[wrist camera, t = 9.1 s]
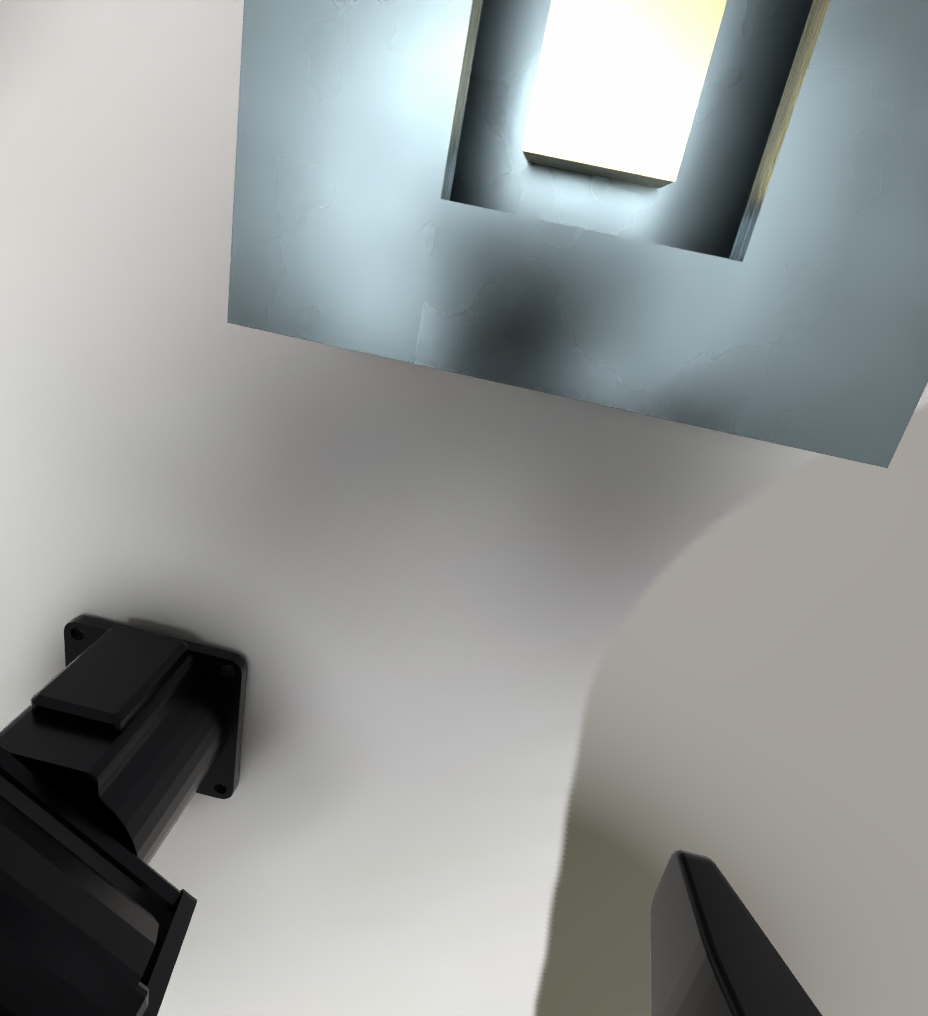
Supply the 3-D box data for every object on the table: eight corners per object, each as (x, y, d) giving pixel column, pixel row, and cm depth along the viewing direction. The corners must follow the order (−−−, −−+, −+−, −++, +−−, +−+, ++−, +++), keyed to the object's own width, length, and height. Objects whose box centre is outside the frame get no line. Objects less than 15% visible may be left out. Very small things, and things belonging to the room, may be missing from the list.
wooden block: (659, 188, 16) (675, 181, 14) (527, 161, 16) (522, 150, 14) (747, -132, 14) (784, -204, 12) (593, -160, 14) (599, -237, 12)
